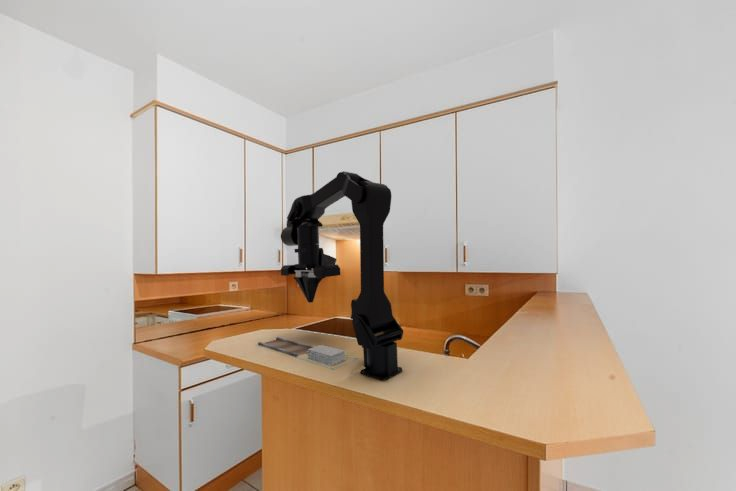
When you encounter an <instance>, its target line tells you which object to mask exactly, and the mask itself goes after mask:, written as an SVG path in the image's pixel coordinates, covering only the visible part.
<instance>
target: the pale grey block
mask: <svg viewBox="0 0 736 491" xmlns="http://www.w3.org/2000/svg"><path fill="white" fill-rule="evenodd" d="M330 348H332V347H331V346H326V345H323V344H318V345H316V346H314V347H313V348H310V349H307V351H308V353H307V359H308V360H309V361H312V362H316V363H320V362H319V352H322V351H325V350H327V349H330Z"/></svg>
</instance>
